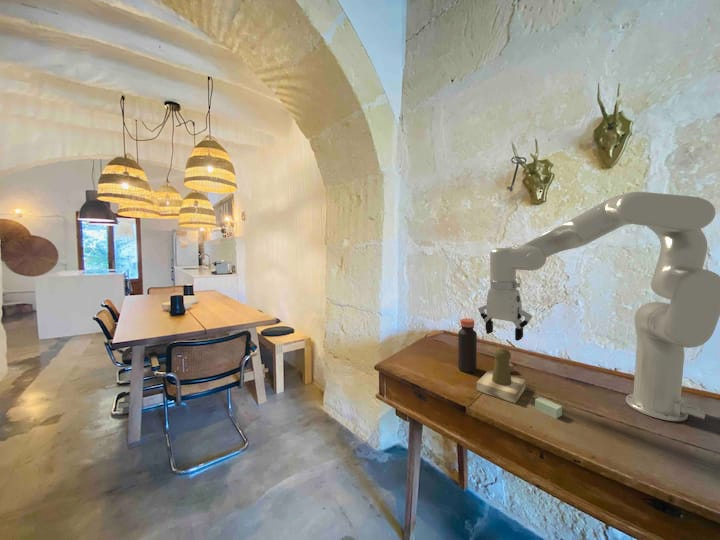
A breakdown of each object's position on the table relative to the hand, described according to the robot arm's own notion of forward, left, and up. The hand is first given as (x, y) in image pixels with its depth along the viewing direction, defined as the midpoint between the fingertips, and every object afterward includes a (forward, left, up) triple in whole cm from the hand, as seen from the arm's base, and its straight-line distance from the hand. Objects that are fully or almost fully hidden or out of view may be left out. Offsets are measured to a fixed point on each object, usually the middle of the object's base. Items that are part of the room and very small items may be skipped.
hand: (503, 336), depth 95 cm
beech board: (0, 0, -19) cm, 19 cm away
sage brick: (-15, +2, -19) cm, 24 cm away
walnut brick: (+6, -14, -19) cm, 24 cm away
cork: (0, 0, -16) cm, 16 cm away
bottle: (+16, -5, -19) cm, 26 cm away
